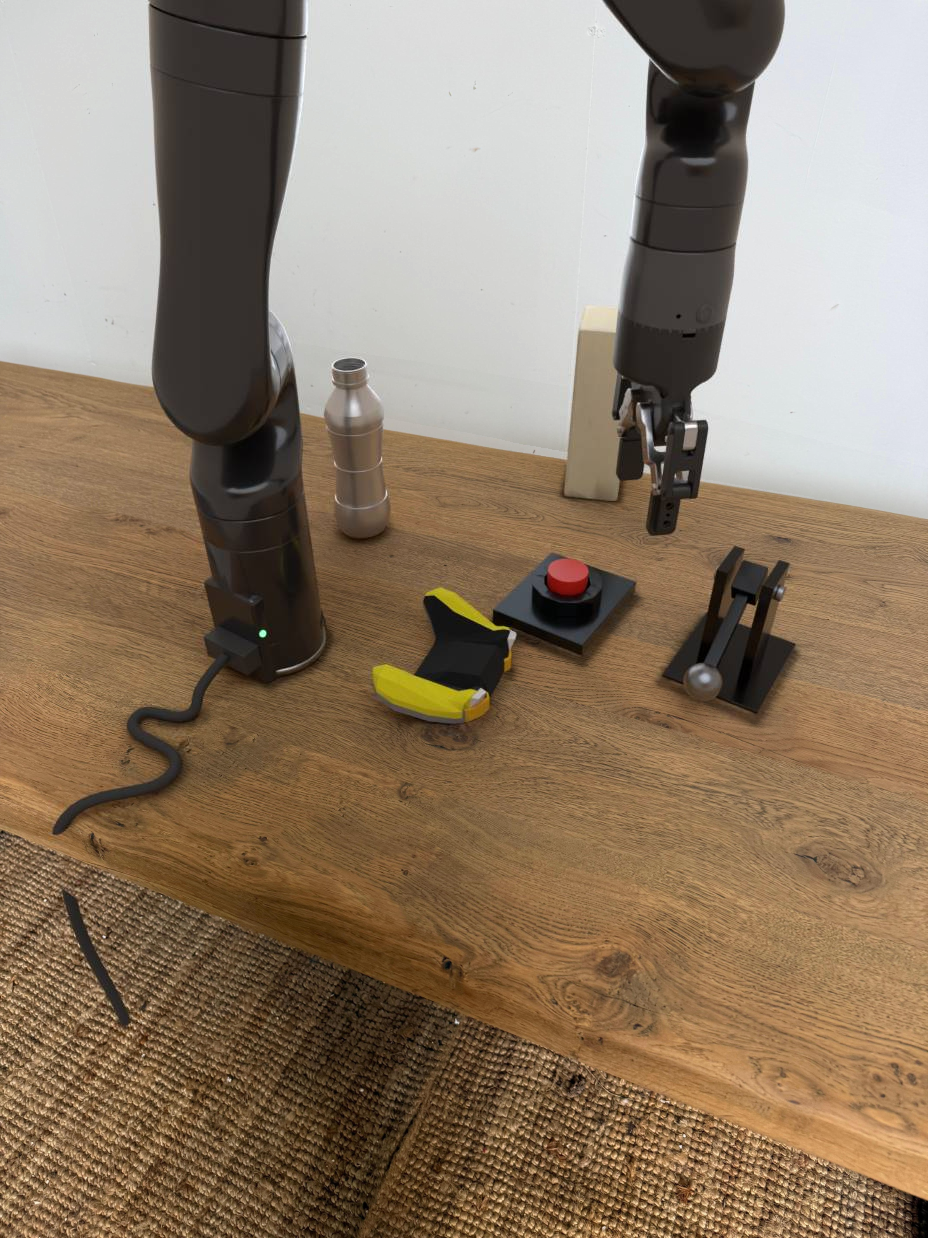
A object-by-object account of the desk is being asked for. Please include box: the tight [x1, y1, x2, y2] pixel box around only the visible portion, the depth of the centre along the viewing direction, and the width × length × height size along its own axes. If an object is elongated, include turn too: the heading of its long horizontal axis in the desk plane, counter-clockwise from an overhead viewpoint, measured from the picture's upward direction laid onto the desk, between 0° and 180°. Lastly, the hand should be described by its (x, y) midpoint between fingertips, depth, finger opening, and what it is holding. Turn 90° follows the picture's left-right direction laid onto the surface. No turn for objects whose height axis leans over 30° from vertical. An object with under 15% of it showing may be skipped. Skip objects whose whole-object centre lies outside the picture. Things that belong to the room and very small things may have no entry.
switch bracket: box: [661, 545, 797, 715], centre depth 78 cm, size 11×9×12 cm
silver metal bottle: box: [323, 357, 392, 539], centre depth 95 cm, size 6×7×20 cm
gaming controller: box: [371, 587, 517, 725], centre depth 79 cm, size 15×6×10 cm
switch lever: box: [683, 559, 769, 702], centre depth 74 cm, size 13×3×3 cm, turn 147°
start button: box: [547, 558, 589, 595], centre depth 86 cm, size 4×4×2 cm
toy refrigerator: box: [563, 304, 625, 502], centre depth 102 cm, size 8×7×21 cm
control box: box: [492, 551, 637, 657], centre depth 87 cm, size 12×10×4 cm
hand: (643, 504), depth 71 cm, fingers open, 8 cm apart
